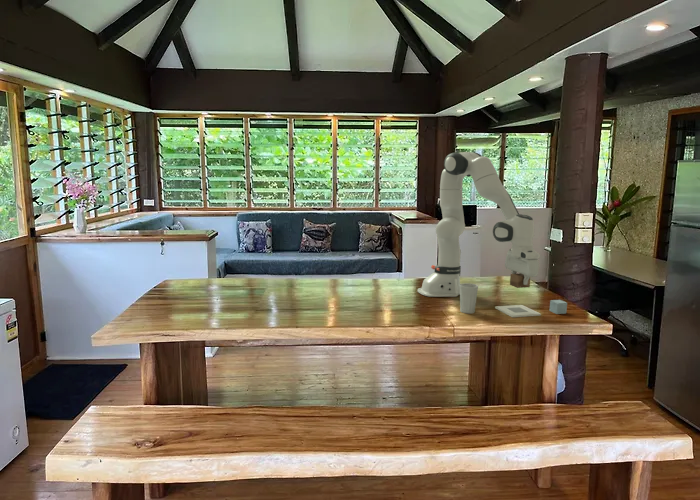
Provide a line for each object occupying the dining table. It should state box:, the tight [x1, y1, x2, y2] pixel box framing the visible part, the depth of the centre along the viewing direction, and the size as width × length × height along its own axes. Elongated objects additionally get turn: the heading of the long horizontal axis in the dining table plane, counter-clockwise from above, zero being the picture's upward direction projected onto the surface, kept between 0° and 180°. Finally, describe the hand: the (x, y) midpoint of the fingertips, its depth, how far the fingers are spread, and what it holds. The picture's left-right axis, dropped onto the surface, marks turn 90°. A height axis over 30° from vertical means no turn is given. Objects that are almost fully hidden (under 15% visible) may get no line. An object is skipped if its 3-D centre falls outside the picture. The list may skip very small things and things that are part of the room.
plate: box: [494, 304, 542, 318], centre depth 215 cm, size 14×14×1 cm
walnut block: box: [509, 273, 531, 289], centre depth 212 cm, size 6×6×5 cm
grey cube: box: [548, 299, 568, 315], centre depth 215 cm, size 5×5×5 cm
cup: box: [459, 282, 479, 314], centre depth 213 cm, size 8×8×12 cm
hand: (519, 282), depth 212 cm, fingers closed on walnut block, 6 cm apart
